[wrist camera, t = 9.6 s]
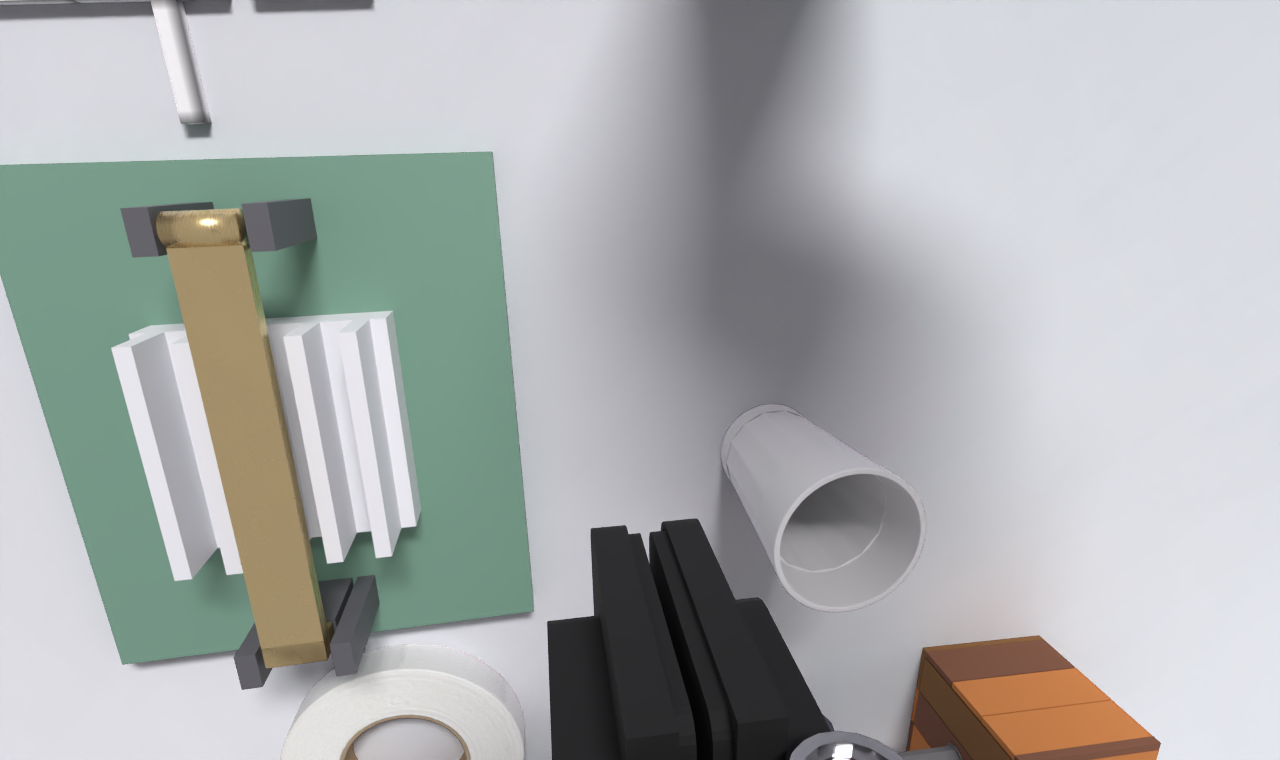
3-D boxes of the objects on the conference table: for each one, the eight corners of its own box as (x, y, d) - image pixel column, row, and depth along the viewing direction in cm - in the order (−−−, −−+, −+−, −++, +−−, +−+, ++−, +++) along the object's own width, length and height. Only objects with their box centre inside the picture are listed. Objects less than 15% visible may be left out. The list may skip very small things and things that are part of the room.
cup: (733, 522, 45) (803, 637, 34) (690, 424, 43) (751, 513, 32) (838, 472, 46) (943, 570, 34) (802, 371, 43) (903, 441, 32)
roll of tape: (297, 828, 47) (283, 868, 44) (288, 643, 43) (272, 674, 40) (520, 812, 50) (520, 849, 47) (532, 637, 46) (533, 666, 43)
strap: (176, 209, 29) (152, 212, 27) (250, 207, 30) (231, 209, 28) (276, 647, 36) (263, 674, 34) (335, 640, 36) (325, 665, 34)
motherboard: (-10, 166, 33) (-162, 163, 25) (492, 152, 36) (485, 146, 29) (136, 647, 41) (53, 749, 34) (533, 597, 44) (535, 679, 37)
